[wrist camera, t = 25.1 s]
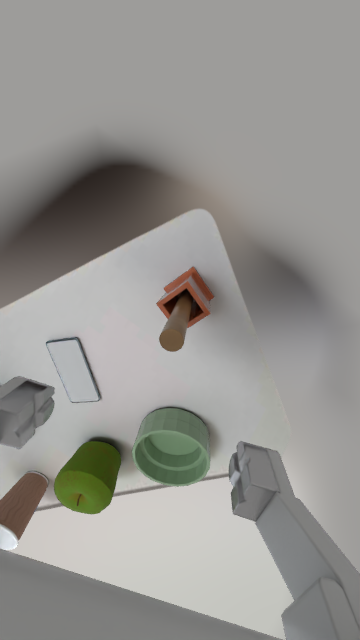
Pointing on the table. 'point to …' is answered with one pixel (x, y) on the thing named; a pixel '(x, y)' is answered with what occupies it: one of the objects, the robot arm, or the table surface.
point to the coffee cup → (20, 507)
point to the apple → (89, 478)
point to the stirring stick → (177, 323)
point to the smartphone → (73, 370)
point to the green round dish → (172, 447)
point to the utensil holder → (195, 288)
